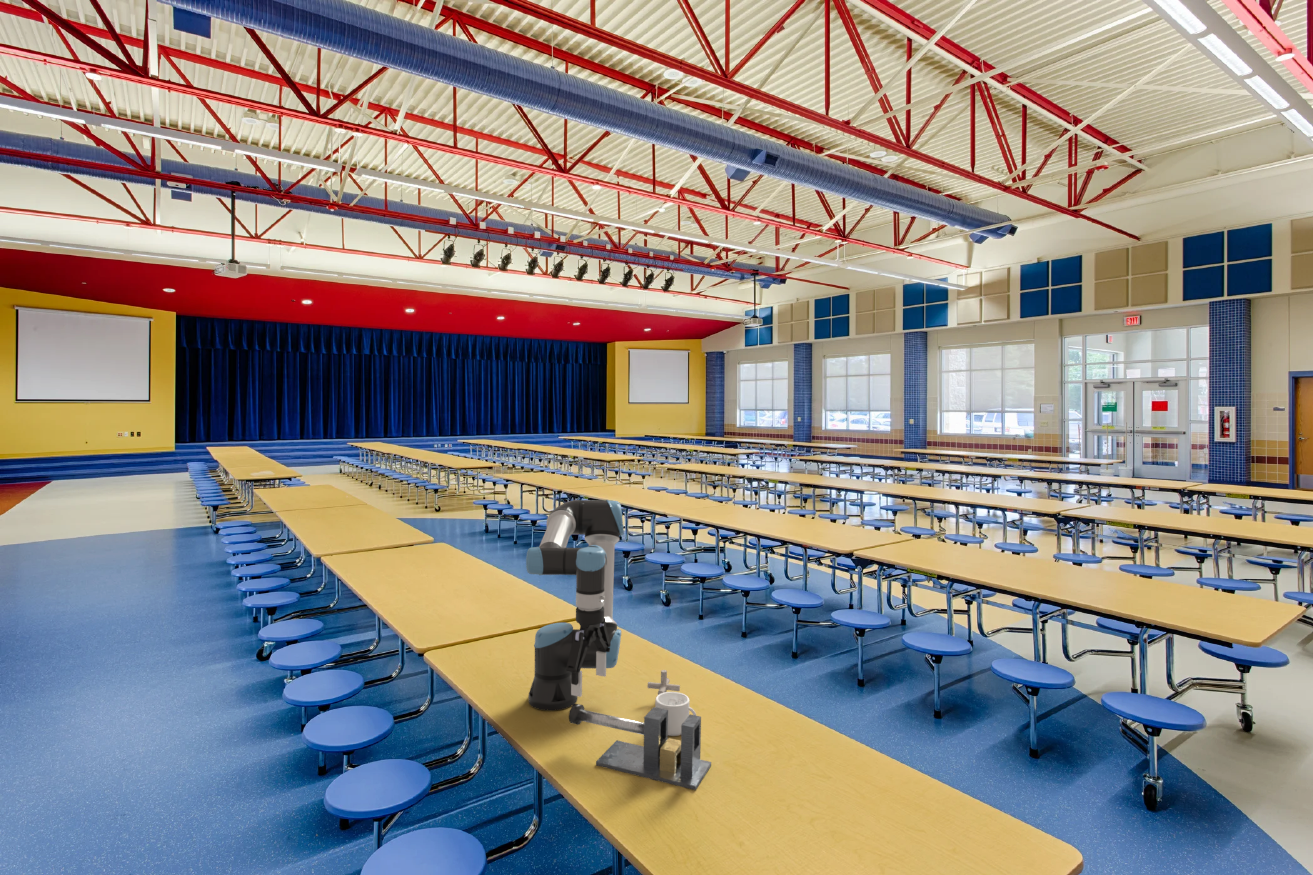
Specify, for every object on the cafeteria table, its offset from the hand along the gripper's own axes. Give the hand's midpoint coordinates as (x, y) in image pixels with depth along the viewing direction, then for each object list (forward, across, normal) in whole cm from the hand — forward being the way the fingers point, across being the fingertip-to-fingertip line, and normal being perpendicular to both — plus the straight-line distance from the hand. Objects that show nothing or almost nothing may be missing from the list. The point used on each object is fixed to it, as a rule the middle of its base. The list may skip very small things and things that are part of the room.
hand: (589, 685), depth 175 cm
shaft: (+11, 0, -7) cm, 13 cm away
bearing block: (+17, -1, -20) cm, 26 cm away
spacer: (+16, -1, -24) cm, 29 cm away
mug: (+18, +20, -18) cm, 32 cm away
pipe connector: (+18, +34, -8) cm, 40 cm away
